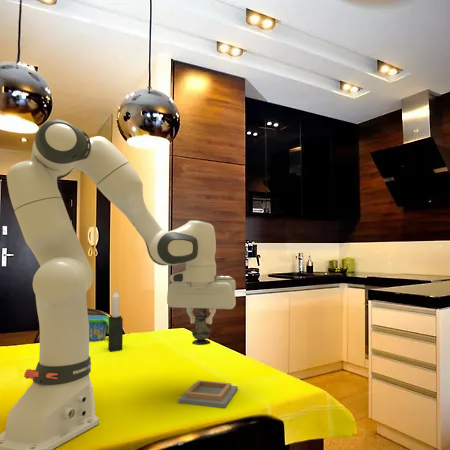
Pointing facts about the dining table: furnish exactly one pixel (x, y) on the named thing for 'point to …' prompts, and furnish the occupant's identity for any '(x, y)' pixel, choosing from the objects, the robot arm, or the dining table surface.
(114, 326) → the candle
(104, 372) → the dining table surface
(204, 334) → the salt shaker
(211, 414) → the dining table surface
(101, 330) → the snack cup
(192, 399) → the base plate
